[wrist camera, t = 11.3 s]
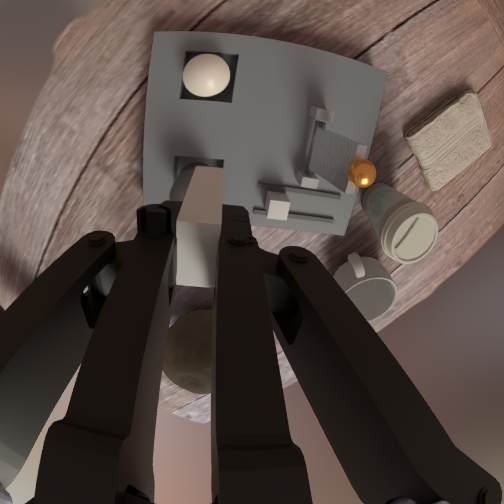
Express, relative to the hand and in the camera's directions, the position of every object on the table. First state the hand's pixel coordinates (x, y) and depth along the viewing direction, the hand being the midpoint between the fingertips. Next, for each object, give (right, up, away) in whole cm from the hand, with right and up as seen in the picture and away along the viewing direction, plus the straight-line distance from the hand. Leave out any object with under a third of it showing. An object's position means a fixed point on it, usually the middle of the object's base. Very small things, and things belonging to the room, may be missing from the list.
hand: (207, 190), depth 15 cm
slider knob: (+5, +3, +21) cm, 22 cm away
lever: (+10, +8, +15) cm, 20 cm away
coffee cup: (+22, +5, +26) cm, 34 cm away
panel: (+3, +12, +19) cm, 23 cm away
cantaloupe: (-7, -16, +38) cm, 42 cm away
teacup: (+20, -6, +33) cm, 39 cm away
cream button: (-3, +18, +14) cm, 22 cm away
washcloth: (+35, +16, +20) cm, 43 cm away
